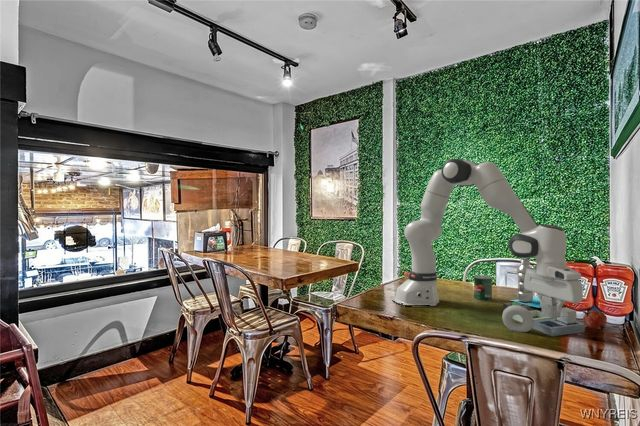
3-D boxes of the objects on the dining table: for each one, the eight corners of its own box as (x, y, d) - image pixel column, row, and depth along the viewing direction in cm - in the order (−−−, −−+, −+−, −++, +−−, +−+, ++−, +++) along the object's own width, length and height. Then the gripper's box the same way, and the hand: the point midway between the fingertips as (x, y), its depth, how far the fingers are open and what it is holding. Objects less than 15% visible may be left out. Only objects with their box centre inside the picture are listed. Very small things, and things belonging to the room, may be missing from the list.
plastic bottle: (535, 303, 158) (536, 261, 158) (519, 303, 160) (519, 260, 159) (529, 300, 164) (530, 258, 164) (514, 299, 166) (514, 258, 165)
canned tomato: (471, 299, 167) (471, 276, 167) (478, 296, 172) (478, 274, 172) (487, 302, 161) (488, 279, 161) (494, 299, 166) (494, 277, 166)
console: (516, 317, 139) (516, 308, 139) (503, 312, 146) (503, 303, 146) (530, 316, 141) (530, 306, 141) (516, 311, 148) (516, 301, 148)
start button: (516, 312, 142) (516, 304, 141) (510, 309, 145) (510, 302, 145) (522, 311, 142) (522, 304, 142) (516, 309, 145) (516, 302, 145)
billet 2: (567, 331, 122) (567, 311, 122) (556, 327, 126) (557, 308, 125) (576, 330, 123) (576, 310, 123) (565, 326, 127) (565, 307, 126)
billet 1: (560, 316, 121) (560, 297, 121) (551, 317, 120) (551, 298, 119) (550, 313, 125) (550, 294, 124) (541, 314, 123) (541, 295, 123)
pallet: (552, 338, 117) (552, 328, 117) (532, 330, 125) (532, 321, 125) (585, 334, 121) (585, 324, 121) (563, 326, 129) (564, 317, 129)
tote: (529, 328, 128) (529, 320, 127) (511, 320, 136) (511, 312, 136) (556, 324, 131) (556, 316, 131) (536, 317, 139) (536, 310, 139)
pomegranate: (599, 332, 129) (574, 313, 132) (615, 320, 126) (589, 301, 129) (603, 341, 123) (576, 321, 126) (620, 328, 120) (592, 308, 123)
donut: (501, 331, 125) (501, 304, 125) (502, 328, 128) (502, 301, 127) (533, 337, 119) (533, 309, 119) (534, 334, 122) (534, 306, 121)
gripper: (519, 265, 131) (519, 301, 131) (571, 276, 111) (571, 318, 111) (532, 264, 133) (532, 300, 133) (586, 275, 113) (586, 316, 113)
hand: (550, 308), depth 122 cm, fingers closed on billet 1, 4 cm apart
